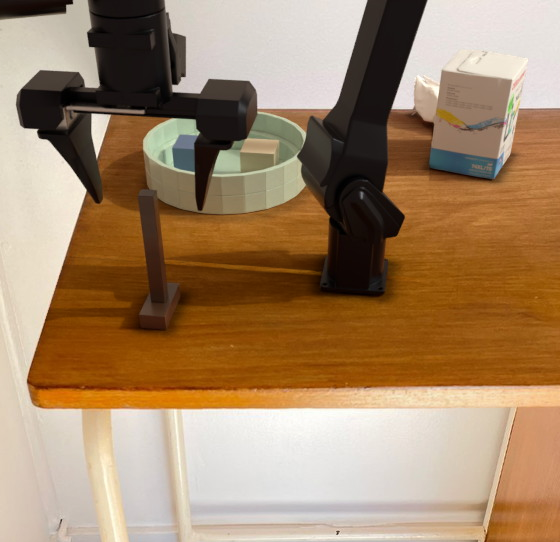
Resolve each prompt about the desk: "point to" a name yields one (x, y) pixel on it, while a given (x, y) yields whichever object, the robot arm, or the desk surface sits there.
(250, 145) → the cream block
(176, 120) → the bowl
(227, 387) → the desk surface
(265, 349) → the desk surface
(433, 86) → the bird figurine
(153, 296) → the block-headed hammer
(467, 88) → the ink box
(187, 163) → the slate block
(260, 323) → the desk surface
